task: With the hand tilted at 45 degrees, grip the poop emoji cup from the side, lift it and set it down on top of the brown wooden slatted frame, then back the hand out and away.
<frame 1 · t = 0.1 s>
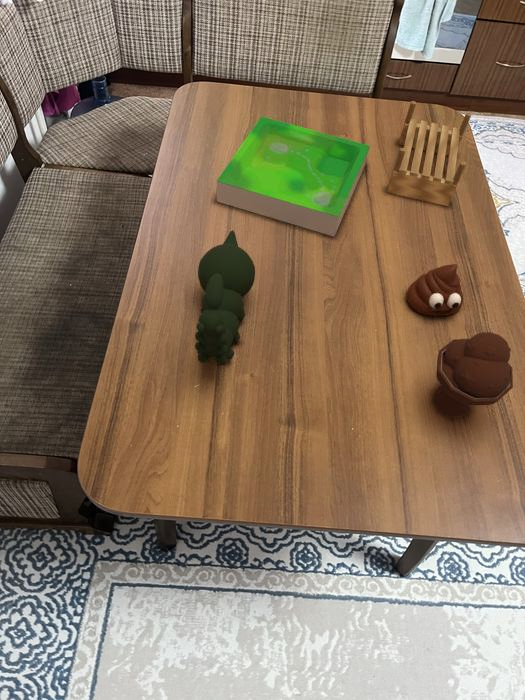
poop emoji: (432, 302, 96), on the table
ice cream bowl: (451, 402, 84), on the table
green terrain map board: (294, 183, 113), on the table
toy figurine: (222, 321, 91), on the table
brown wooden slatted frame: (422, 172, 118), on the table
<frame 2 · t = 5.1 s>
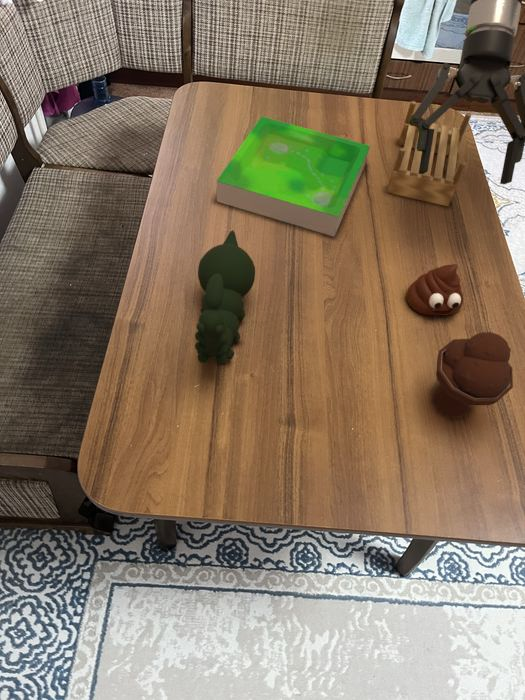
hand: (464, 178, 87), 19 cm above the table, tool tilted 45°, fingers open, 13 cm apart
nothing on the table moved.
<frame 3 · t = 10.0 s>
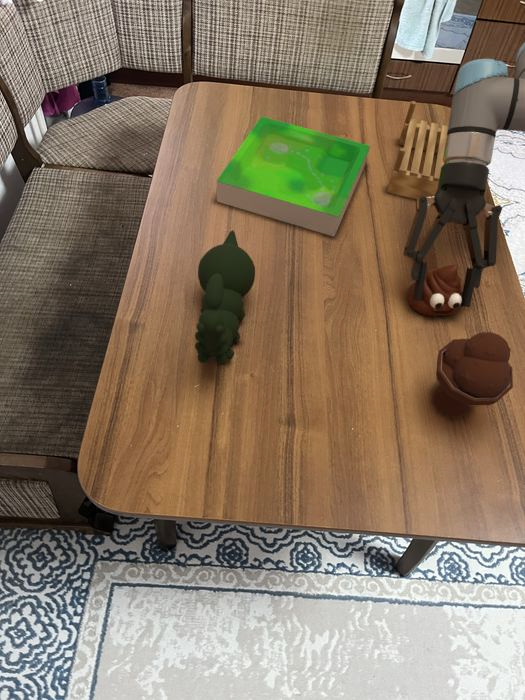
hand: (440, 303, 91), 4 cm above the table, tool tilted 45°, fingers closed on poop emoji, 8 cm apart
poop emoji: (433, 303, 96), on the table, touching gripper
everything else where it was.
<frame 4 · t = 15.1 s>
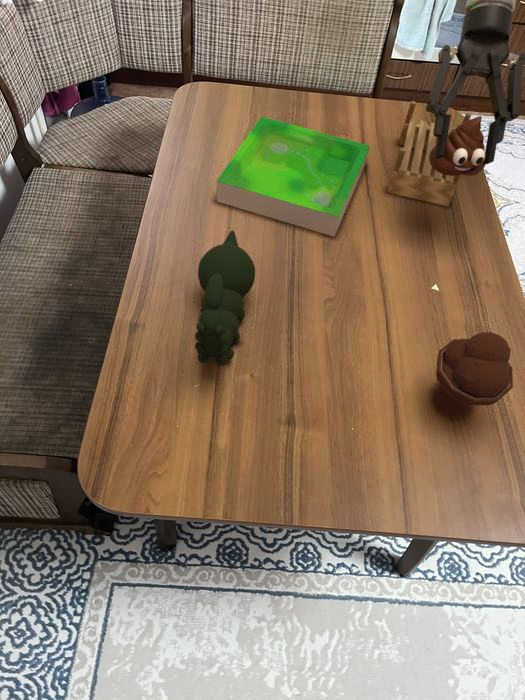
hand: (464, 159, 90), 19 cm above the table, tool tilted 45°, fingers closed on poop emoji, 8 cm apart
poop emoji: (454, 166, 95), point 15 cm above the table, touching gripper
everything else where it was.
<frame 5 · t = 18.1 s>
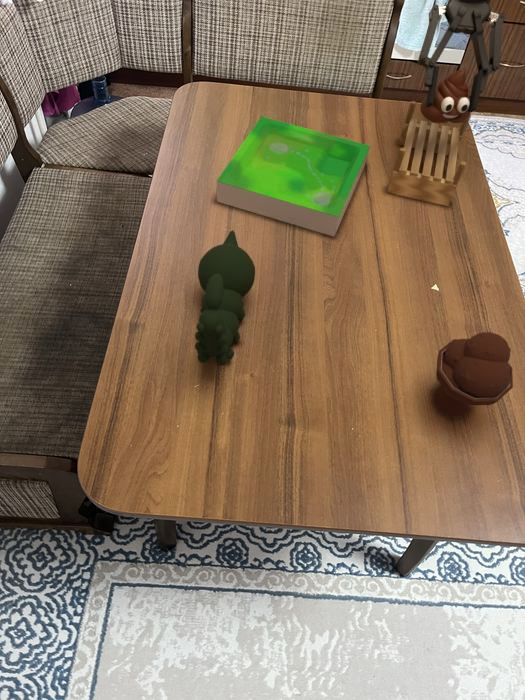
hand: (450, 107, 102), 17 cm above the table, tool tilted 45°, fingers closed on poop emoji, 8 cm apart
poop emoji: (443, 116, 107), point 13 cm above the table, touching gripper
everything else where it was.
when the fingers open (10 cm above the table, at t = 20.6 s): poop emoji stays where it is, resting on brown wooden slatted frame.
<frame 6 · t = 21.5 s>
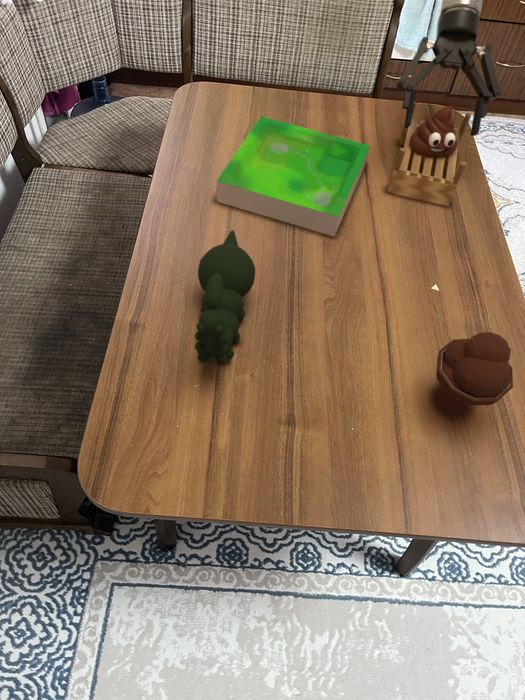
hand: (440, 130, 108), 12 cm above the table, tool tilted 45°, fingers open, 13 cm apart
poop emoji: (431, 148, 114), point 6 cm above the table, touching brown wooden slatted frame
everything else where it was.
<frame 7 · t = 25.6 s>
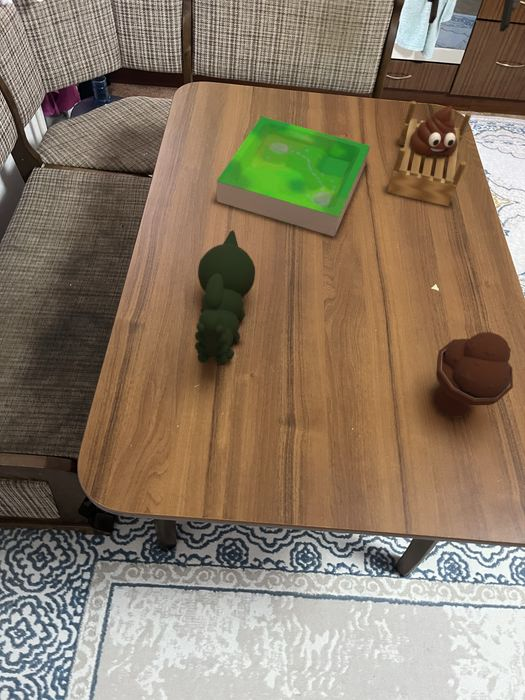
hand: (468, 24, 101), 27 cm above the table, tool tilted 45°, fingers open, 13 cm apart
nothing on the table moved.
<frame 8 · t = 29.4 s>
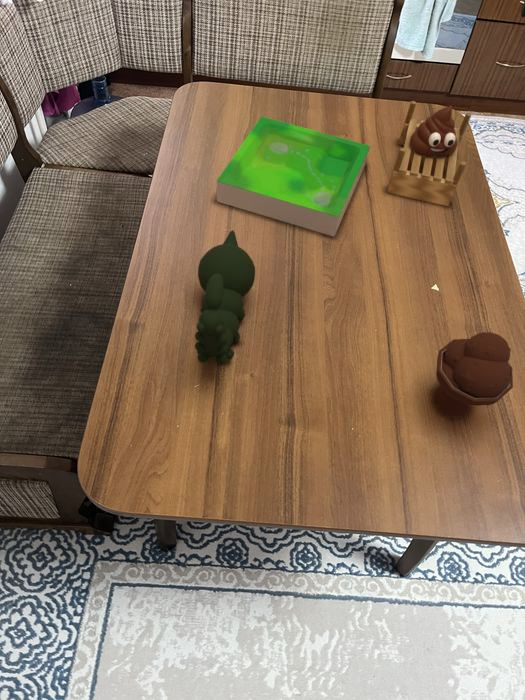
nothing on the table moved.
at the end: poop emoji inside the target area on the brown wooden slatted frame (0.2 cm from its centre), point 5.8 cm above the brown wooden slatted frame's base; poop emoji tilted 0°; the gripper is holding nothing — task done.
